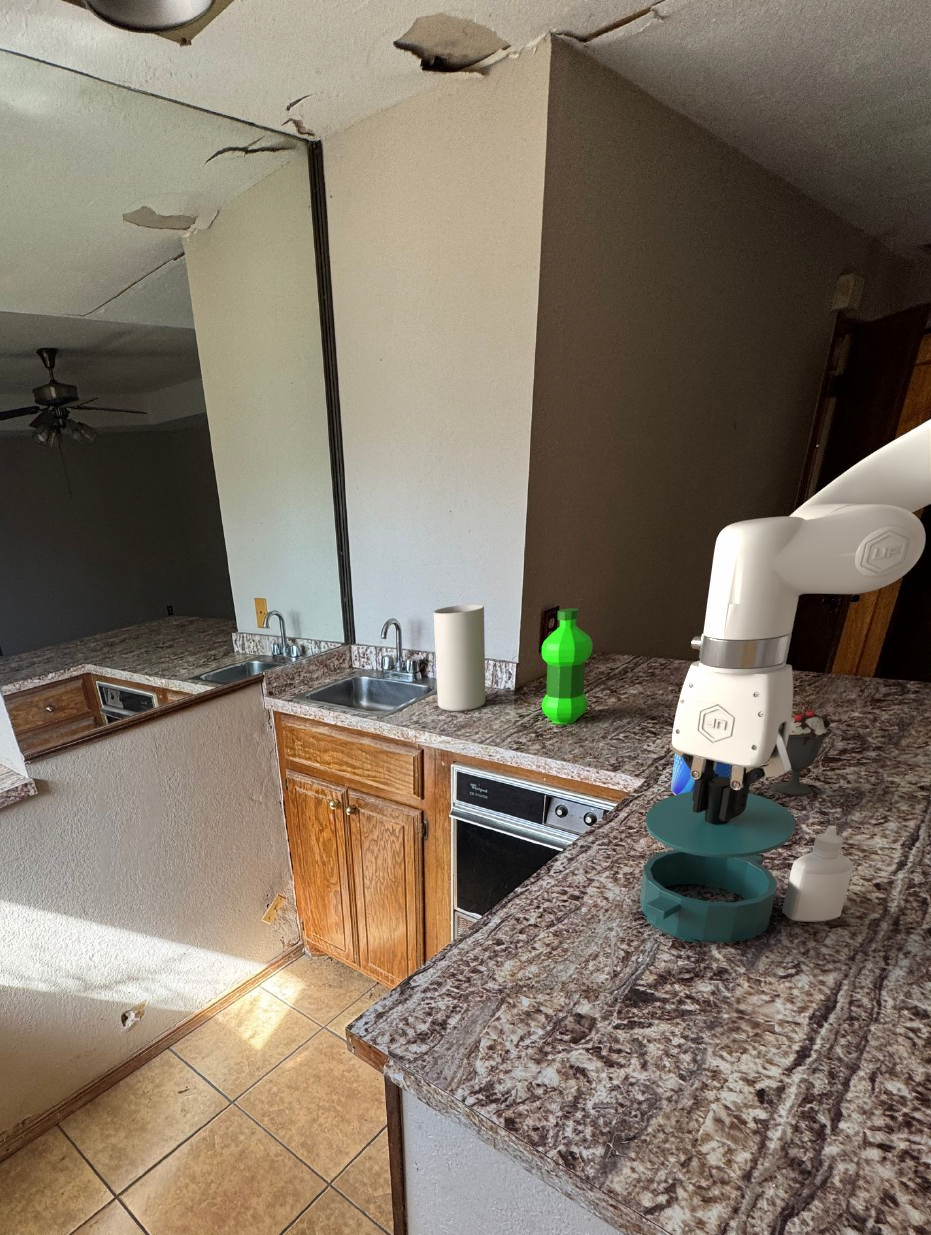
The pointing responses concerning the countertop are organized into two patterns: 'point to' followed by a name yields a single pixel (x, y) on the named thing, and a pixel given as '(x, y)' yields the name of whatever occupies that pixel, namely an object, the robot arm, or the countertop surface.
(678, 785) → the beer can
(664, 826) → the lid
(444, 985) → the countertop surface
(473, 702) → the cylinder vase
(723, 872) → the pot
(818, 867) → the eye dropper bottle
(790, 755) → the sundae
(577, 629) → the plastic bottle
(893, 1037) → the countertop surface
